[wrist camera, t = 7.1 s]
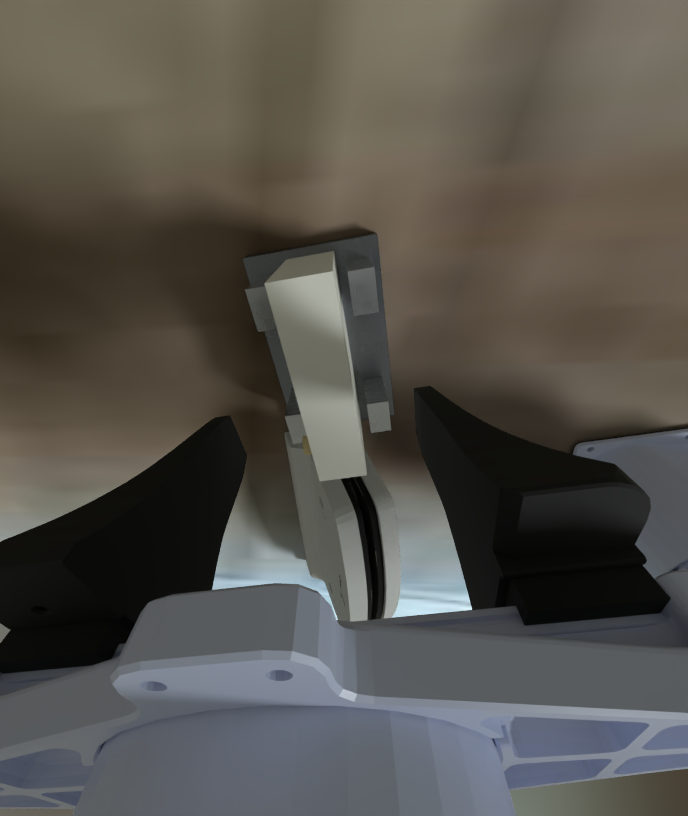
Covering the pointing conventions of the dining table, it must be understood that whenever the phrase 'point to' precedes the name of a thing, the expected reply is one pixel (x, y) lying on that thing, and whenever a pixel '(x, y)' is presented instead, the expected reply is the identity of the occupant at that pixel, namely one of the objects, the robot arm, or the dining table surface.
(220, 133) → the dining table surface
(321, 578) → the grey curved block
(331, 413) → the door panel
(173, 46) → the dining table surface
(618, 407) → the dining table surface
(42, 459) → the dining table surface
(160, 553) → the robot arm
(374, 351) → the clip bracket
